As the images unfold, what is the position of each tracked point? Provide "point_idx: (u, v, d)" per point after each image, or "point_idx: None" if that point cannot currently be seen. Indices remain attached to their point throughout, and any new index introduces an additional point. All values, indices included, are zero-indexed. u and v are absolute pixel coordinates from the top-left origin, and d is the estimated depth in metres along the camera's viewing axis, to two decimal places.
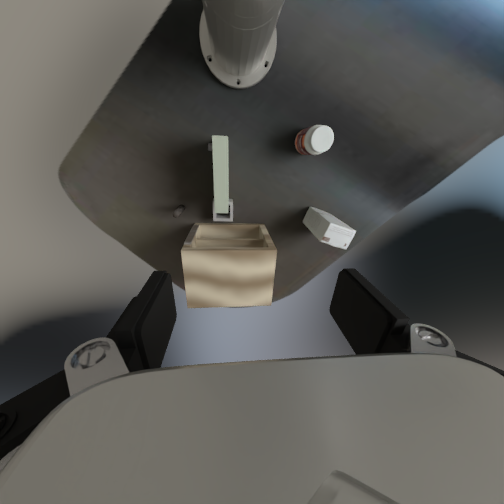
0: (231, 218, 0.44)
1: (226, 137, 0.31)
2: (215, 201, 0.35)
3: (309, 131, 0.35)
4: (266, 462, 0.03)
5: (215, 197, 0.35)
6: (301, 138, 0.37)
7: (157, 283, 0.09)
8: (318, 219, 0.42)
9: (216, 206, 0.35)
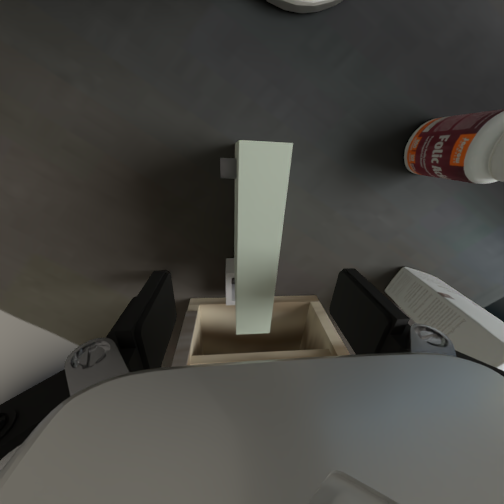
0: None
1: (287, 147, 0.09)
2: (239, 312, 0.13)
3: (495, 125, 0.13)
4: (266, 462, 0.03)
5: (239, 304, 0.13)
6: (451, 143, 0.15)
7: (157, 283, 0.09)
8: (446, 312, 0.20)
9: (241, 322, 0.14)
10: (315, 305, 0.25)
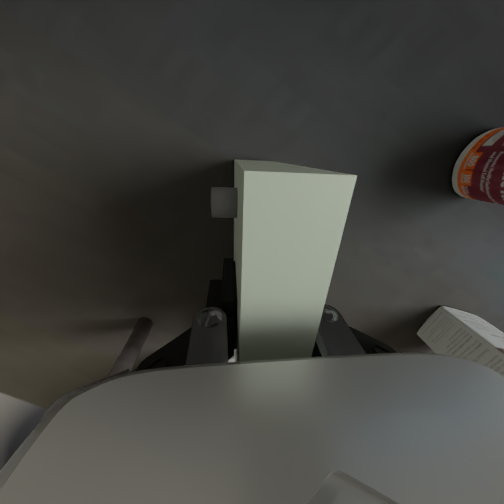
0: None
1: (345, 183, 0.04)
2: None
3: None
4: (266, 462, 0.03)
5: None
6: None
7: (233, 267, 0.10)
8: None
9: None
10: None
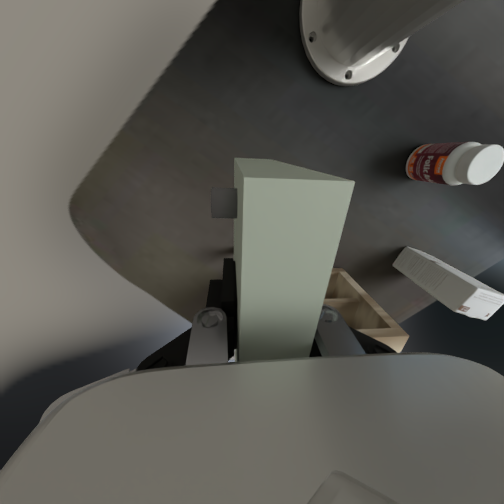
0: None
1: (344, 189, 0.04)
2: None
3: (458, 152, 0.23)
4: (266, 462, 0.03)
5: None
6: (434, 161, 0.25)
7: (232, 267, 0.10)
8: (436, 272, 0.29)
9: None
10: (343, 273, 0.34)
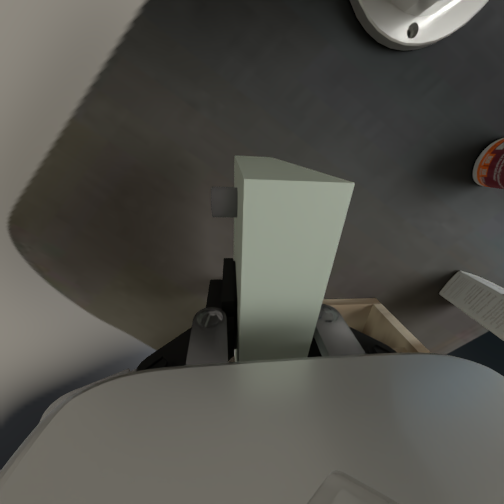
0: None
1: (343, 190, 0.04)
2: None
3: None
4: (266, 462, 0.03)
5: None
6: None
7: (232, 267, 0.10)
8: None
9: None
10: (379, 307, 0.26)
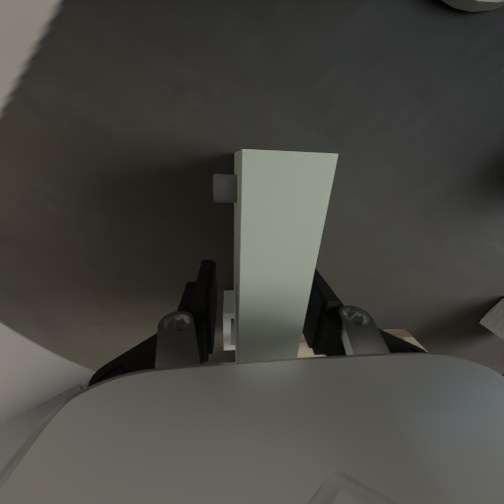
0: None
1: (329, 160, 0.05)
2: None
3: None
4: (266, 462, 0.03)
5: None
6: None
7: (209, 269, 0.10)
8: None
9: None
10: (411, 342, 0.22)
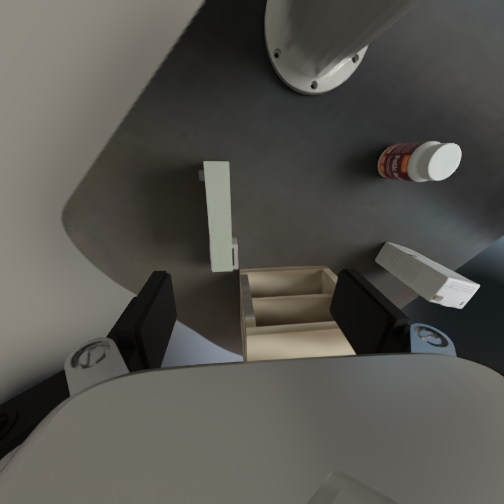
0: (236, 265, 0.32)
1: (226, 163, 0.19)
2: (213, 256, 0.23)
3: (419, 151, 0.24)
4: (266, 462, 0.03)
5: (212, 251, 0.23)
6: (400, 160, 0.26)
7: (157, 283, 0.09)
8: (412, 264, 0.31)
9: (214, 263, 0.24)
10: (326, 270, 0.35)
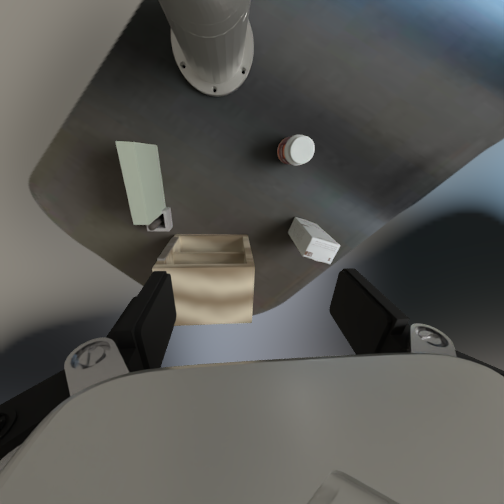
0: (167, 228, 0.41)
1: (132, 143, 0.28)
2: (132, 212, 0.32)
3: (289, 141, 0.33)
4: (266, 462, 0.03)
5: (131, 208, 0.32)
6: (282, 148, 0.35)
7: (157, 283, 0.09)
8: (301, 231, 0.40)
9: (134, 217, 0.32)
10: (244, 237, 0.45)
